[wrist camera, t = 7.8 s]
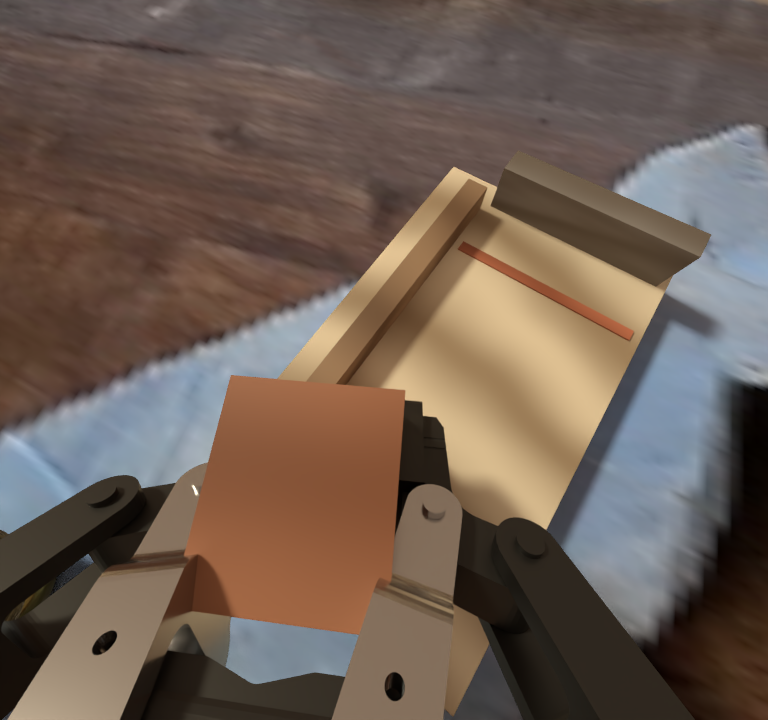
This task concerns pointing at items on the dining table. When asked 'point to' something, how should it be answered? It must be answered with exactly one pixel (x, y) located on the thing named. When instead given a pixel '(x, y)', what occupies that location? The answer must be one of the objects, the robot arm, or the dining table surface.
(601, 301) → the birch board
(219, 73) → the dining table surface
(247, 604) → the tall copper-brown prism
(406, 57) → the dining table surface
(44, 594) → the olive rounded hollow piece
